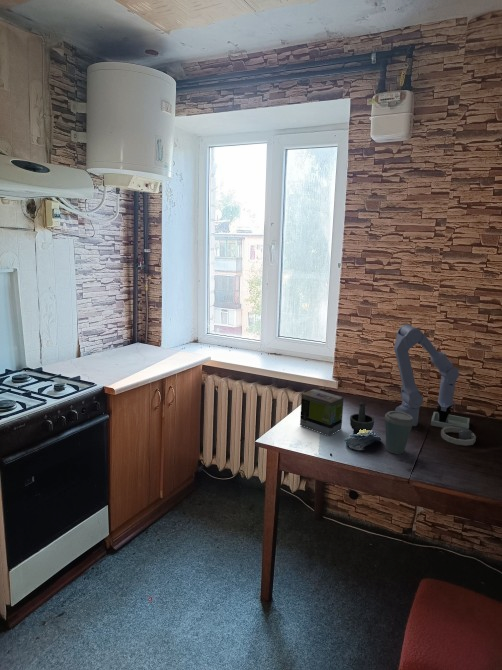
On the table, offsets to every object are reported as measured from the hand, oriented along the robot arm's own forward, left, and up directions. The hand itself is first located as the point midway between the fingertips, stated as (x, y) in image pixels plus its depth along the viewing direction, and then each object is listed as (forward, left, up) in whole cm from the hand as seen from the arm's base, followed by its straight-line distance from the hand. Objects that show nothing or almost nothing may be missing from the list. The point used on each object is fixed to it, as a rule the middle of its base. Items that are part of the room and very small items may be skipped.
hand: (442, 421), depth 195 cm
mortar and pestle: (-40, +2, -2) cm, 40 cm away
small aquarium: (-54, +11, -2) cm, 55 cm away
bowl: (-5, -14, -2) cm, 15 cm away
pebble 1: (0, 0, -1) cm, 1 cm away
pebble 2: (-3, -16, -1) cm, 17 cm away
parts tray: (+2, -2, -2) cm, 3 cm away
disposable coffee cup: (-35, -15, -2) cm, 38 cm away
